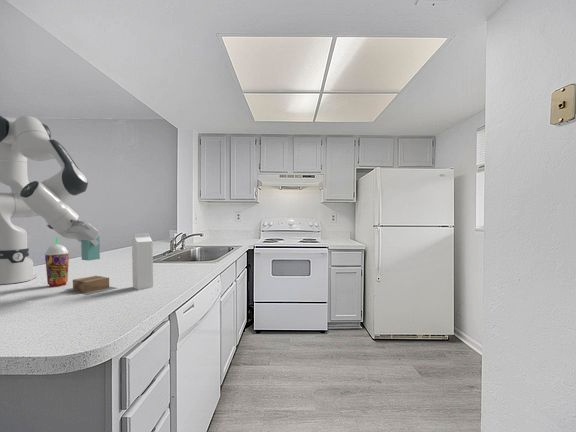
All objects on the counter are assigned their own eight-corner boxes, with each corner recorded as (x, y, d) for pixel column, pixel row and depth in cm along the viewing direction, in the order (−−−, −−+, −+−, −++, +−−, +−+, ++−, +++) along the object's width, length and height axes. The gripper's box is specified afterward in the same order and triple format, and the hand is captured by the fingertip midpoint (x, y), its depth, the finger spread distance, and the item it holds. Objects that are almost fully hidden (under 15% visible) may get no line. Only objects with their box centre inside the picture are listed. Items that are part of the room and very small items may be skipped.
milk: (153, 288, 134) (152, 233, 133) (137, 290, 130) (137, 234, 129) (147, 285, 138) (147, 232, 138) (132, 287, 134) (131, 233, 134)
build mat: (64, 290, 130) (64, 289, 130) (94, 284, 140) (94, 283, 140) (87, 296, 122) (87, 294, 122) (118, 289, 132) (118, 288, 132)
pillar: (81, 259, 130) (81, 231, 130) (93, 258, 134) (92, 230, 134) (88, 260, 128) (87, 231, 127) (99, 259, 132) (99, 231, 131)
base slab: (73, 289, 129) (72, 279, 129) (96, 285, 137) (96, 275, 137) (86, 292, 125) (85, 282, 125) (109, 287, 133) (109, 277, 133)
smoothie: (49, 289, 132) (48, 239, 132) (42, 286, 137) (41, 237, 137) (73, 285, 139) (72, 237, 138) (65, 282, 144) (64, 236, 143)
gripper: (86, 214, 119) (113, 239, 128) (57, 213, 129) (83, 237, 138) (73, 227, 115) (102, 252, 124) (44, 225, 126) (72, 249, 134)
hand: (92, 244), depth 131 cm, fingers closed on pillar, 4 cm apart
